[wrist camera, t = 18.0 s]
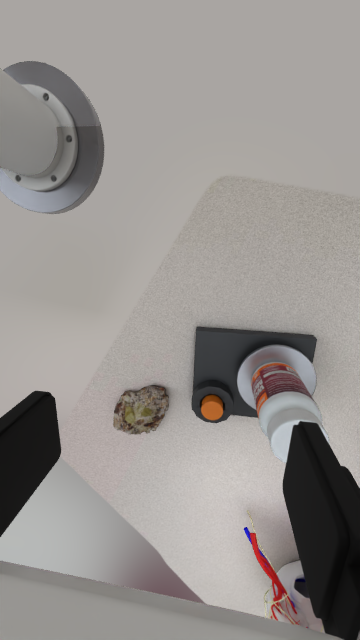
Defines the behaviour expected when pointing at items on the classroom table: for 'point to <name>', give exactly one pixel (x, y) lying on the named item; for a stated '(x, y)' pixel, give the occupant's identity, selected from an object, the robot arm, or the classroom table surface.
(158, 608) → the robot arm
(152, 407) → the mineral rock
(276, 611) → the anatomical skull model
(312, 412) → the pill bottle
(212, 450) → the classroom table surface
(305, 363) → the weighing pan
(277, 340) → the scale
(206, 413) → the tare button
